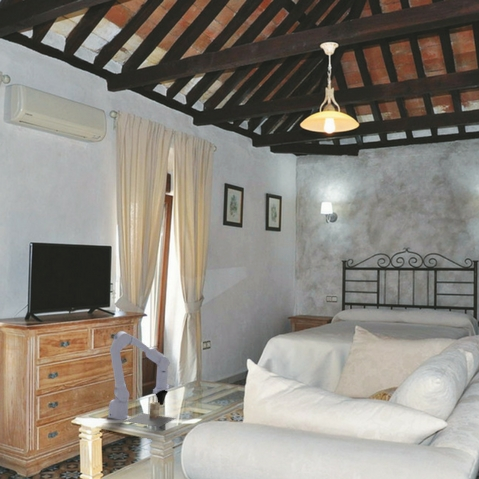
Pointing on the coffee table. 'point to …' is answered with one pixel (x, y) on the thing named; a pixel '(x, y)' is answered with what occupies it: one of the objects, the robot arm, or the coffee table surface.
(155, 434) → the coffee table surface
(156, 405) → the maple block
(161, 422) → the mat
